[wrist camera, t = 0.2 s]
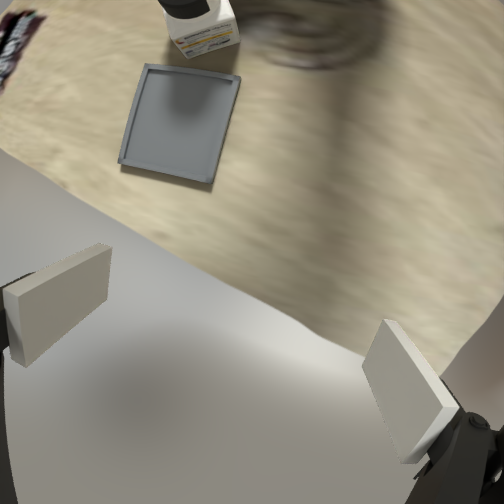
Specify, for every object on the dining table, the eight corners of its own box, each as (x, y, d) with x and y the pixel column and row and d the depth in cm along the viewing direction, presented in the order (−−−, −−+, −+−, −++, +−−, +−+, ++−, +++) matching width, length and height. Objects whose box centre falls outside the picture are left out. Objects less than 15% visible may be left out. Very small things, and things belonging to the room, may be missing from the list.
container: (186, 60, 36) (154, 20, 23) (174, 19, 34) (143, -26, 22) (241, 42, 35) (229, -6, 22) (226, 2, 33) (211, -50, 21)
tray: (148, 65, 36) (145, 63, 35) (241, 79, 36) (240, 76, 35) (121, 163, 40) (117, 163, 39) (212, 183, 40) (210, 184, 39)
